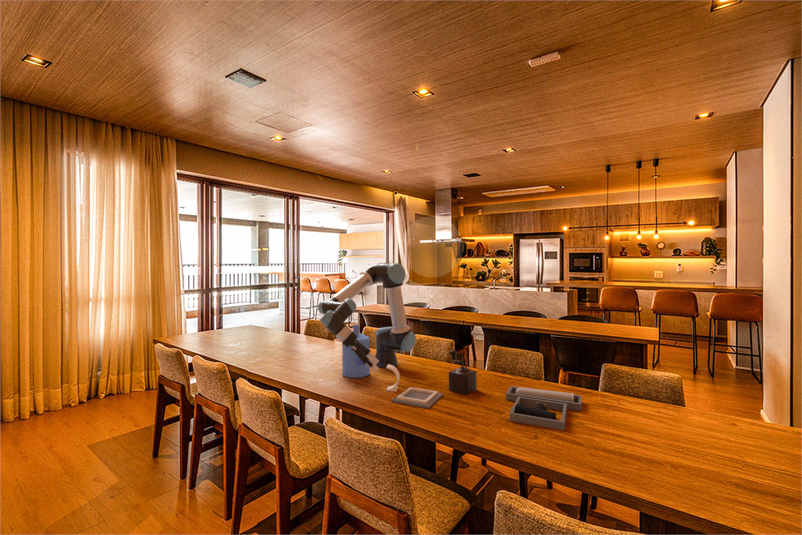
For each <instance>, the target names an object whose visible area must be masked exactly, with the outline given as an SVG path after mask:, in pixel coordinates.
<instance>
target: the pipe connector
mask: <svg viewBox="0 0 802 535" xmlns="http://www.w3.org/2000/svg"><path fill="white" fill-rule="evenodd" d="M515 413H517V414H523V415H529V416H535V417H541V418H547V419H553V420H557V414H556V412H555V411H550V410H548V408H547V404H546V403H542V402H536V403H535V405H534V406H528V405H522V404H516V406H515Z"/></svg>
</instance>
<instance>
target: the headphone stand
mask: <svg viewBox="0 0 802 535" xmlns="http://www.w3.org/2000/svg"><path fill="white" fill-rule="evenodd" d="M385 369H387V370H391V371H392V372H393V373H394V374H395V376H396V382H395V383H394V384H393V385H390V386H387V388H386V392H397V391H398V389H399V387H398V384H399V382H400V378H401V375H400V371H399V369H397V367H396V366H392V365H387V367H385Z"/></svg>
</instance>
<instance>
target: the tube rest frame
mask: <svg viewBox="0 0 802 535" xmlns="http://www.w3.org/2000/svg"><path fill="white" fill-rule="evenodd" d="M519 387H520V386H514V385H513V386H512V385H510V386H509V388H508V390H507V391H506V393H505V401H512V402H515V401H516V399H517V397H518V396H519V397H526V398H533V399H540V400H546V401H553V402H560V403H567V410H570V411H576V412H582V405H583V404H582V398H583V397H582V395H578V394H574V402H568V401H561V400H554V399H548V398H541V397H534V396H527V395H520V394H516V389H517V388H519Z"/></svg>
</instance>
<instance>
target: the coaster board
mask: <svg viewBox="0 0 802 535" xmlns="http://www.w3.org/2000/svg"><path fill="white" fill-rule="evenodd" d="M443 394H444V393H441V392H439V391H437V390H431V389H424V388H418V387H411V386H410V387H408V388H406V389H405V390H403V391H402V392H400V393H399V394H398V395H397V396H395V397H394V398H392V399H391V403H393V404H394V403H395V404H401V405H407V406H413V407H418V408H424V409H430V408H431V407H433V405H434V404H435V403H436V402H437V401H439V400H440V399H441V398H442V397H443V396H444V395H443Z"/></svg>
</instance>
